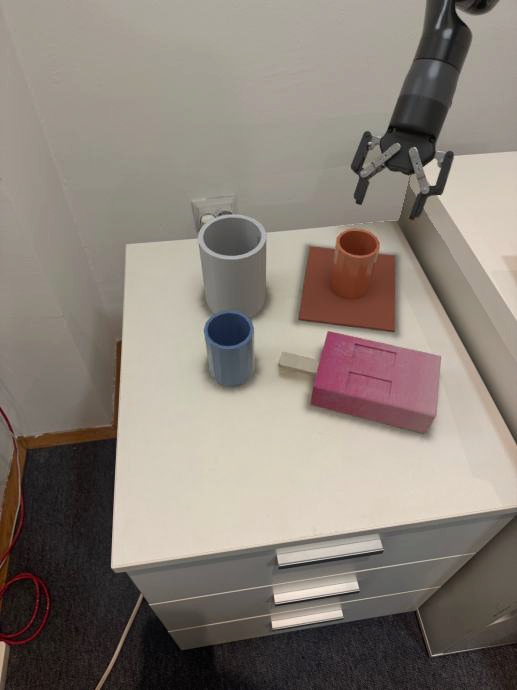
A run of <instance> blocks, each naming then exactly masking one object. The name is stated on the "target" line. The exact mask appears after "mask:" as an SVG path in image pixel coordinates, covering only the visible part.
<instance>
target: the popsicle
mask: <svg viewBox="0 0 517 690" xmlns="http://www.w3.org/2000/svg"><path fill="white" fill-rule="evenodd" d="M441 360H442V356H441V355H438V354H434V353H429V352H425V351H420V350H416V349H411V348H407V347H403V346H398V345H394V344H389V343H385V342H381V341H375V340H370V339H367V338H362V337H357V336H353V335H348V334H344V333H341V332H340V333H339V332H335V331H332V330H331V331H330V330H328V331H327V332H326V335H325V340H324V343H323V348H322V350H321V355H320V358H319V359H317V358H313V357H309V356H304V355H301V354H296V353H291V352H288V351H282V352H281V353H280V355H279V359H278V361H277V362H278V363H277V366H278V368H279V369H282V370H287V371H290V372H295V373H298V374H302V375H303V374H304V375H307V376H311V377H314V379H313V380H314V381H313V384H312V391H311V396H310V402H309V404H310V405H311V406H314V407H317V408H322V409H326V410H330V411H333V412H337V413H342V414H346V415H350V416H354V417H357V418H361V419H366V420H370V421H374V422H377V423H381V424H386V425H390V426H394V427H397V428H401V429H405V430H410V431H413V432H418V433H421V434H427V432H428V430H429V429H430V427H431V425H432V423H433V422H434V420H435V419H436V416H437V411H438V398H439V387H440V376H441V375H440V374H441V363H442V361H441Z"/></svg>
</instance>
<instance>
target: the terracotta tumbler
mask: <svg viewBox="0 0 517 690" xmlns="http://www.w3.org/2000/svg"><path fill="white" fill-rule="evenodd" d="M380 248H381V242H380V240H379V239H378V236H377V235H375V234H374V233H372V232H371V231H368V230H366V229H362V228H349V229H346V230H343V231H342V232H340V233H339V234H338V235H337V237H336V240H335V247H334V249H335V252H334V258H333V264H332V270H331V276H330V288H331V290H332V291H333V292H334V293H335V294H336V295H338V296H340V297H342V298H345V299H358V298H361V297H363V296H364V295H365V294H366V293H367V292H368V290H369V287H370V284H371V280H372V276H373V272H374V268H375V264H376V260H377V257H378V254H380V253H379V252H380Z"/></svg>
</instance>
